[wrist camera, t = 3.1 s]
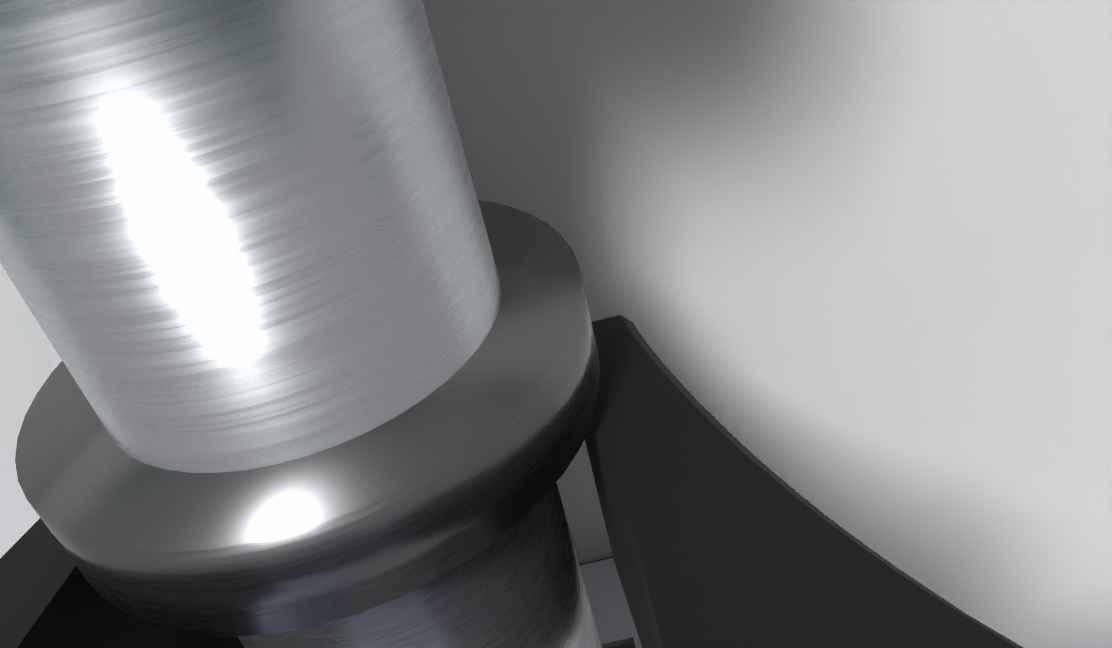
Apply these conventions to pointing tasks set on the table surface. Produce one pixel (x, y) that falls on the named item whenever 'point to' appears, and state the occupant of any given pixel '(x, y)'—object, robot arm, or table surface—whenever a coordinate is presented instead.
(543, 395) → the silver cylinder
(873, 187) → the table surface
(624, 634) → the sleeve
